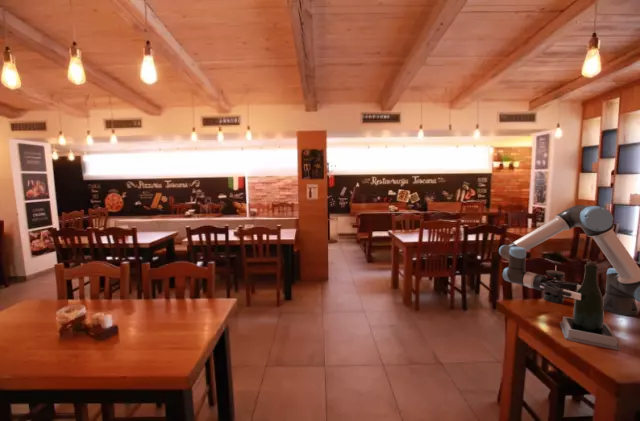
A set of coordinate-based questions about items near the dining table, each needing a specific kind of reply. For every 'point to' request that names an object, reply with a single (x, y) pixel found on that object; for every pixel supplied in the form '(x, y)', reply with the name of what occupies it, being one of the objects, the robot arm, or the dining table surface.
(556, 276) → the french press
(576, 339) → the bottle stand
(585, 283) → the beer bottle
